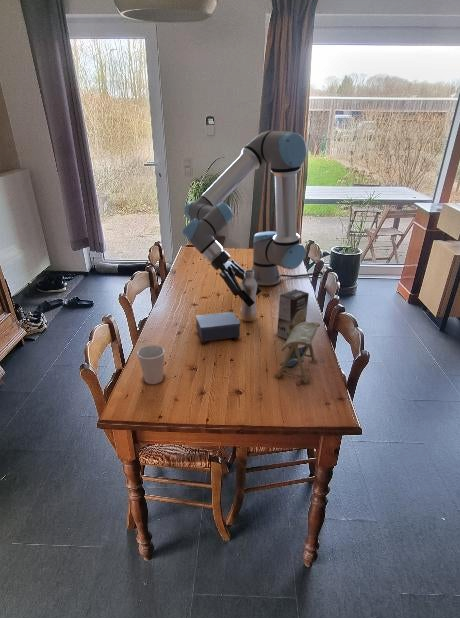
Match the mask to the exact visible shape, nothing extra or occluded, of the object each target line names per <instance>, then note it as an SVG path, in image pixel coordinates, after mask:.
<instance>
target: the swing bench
mask: <svg viewBox="0 0 460 618" xmlns="http://www.w3.org/2000/svg"><path fill="white" fill-rule="evenodd" d="M320 326H321V323H319V322H317V321H312V320H311V321H310V320H306V322H302V323H300V324H298V325H296V326H295V327H294V328H293V330H292V332H291V334H290V336H289V338H288V340H287V339H286V341H285V342H284V345H283V346H282V347H281V349H280V351H281V353H283V352H284V351H285V350H286V349H288V352H287V353H286V355H285V357H284V359H283V361H280V362H279V366H280V369H279V371H278V373H277V375H276V376H277V378H281V377H282V375H284V376H285V375H286V376H290V377H294V378H299V379H302V381H303V382H302V383H304V384H307V383H308V380H307V376H306V372H305V368H304V365H303V363H304V362H305V359H304V358H305V357H307V358H311V362H312V363H315V362H316V357H315V354H314V349H313V348H314V347H313V339H314V337H315V336H316V334H317V331H318V328H319V327H320ZM299 345H301V347H299ZM308 350H309V353H310V354H308ZM298 368H299V369H300V373H301V374H295V373H290V372H294V371H296V370H297V369H298ZM286 371H287V372H286Z"/></svg>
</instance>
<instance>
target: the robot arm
mask: <svg viewBox="0 0 460 618" xmlns="http://www.w3.org/2000/svg"><path fill="white" fill-rule="evenodd" d="M307 151H308V149H307V143H306V140H305V139H304V137H303V136H302V135H301V134H300V133H298V132H293V131H292V130H291V131H286V130H271V129H270V130H265V131H263V132H261V133H259V134H258V135H256V136H255V137H254V138H253V139H252V140H250V141H249V142H248V143H247V144H246V145H245V146H244V147H243V148H242V149H241V152H240V155H239V156H238V157H237V158H236V159H235V160H234V161H233V162H232V163H231V165H230V166H229V167H228V168H227V169H225V170H224V172H223V173H222V174H221V175H220V176H218V178H217V179H216V180H215V181H214V182H213V183H212V184H211V185H210V186H209V187H208V188H207V189H206V191H205V192H203V193H202V195H201V196H200V197H199V198H197V200H190V201H188V202H187V203H186V204H185V206H184V215H185V217H186V219H188V220H189V221H190V222H188V223H187V224H186V226H185V227H184V228H183V229H182V234H183V236H184V237H185V238H186V239H187V241H188V242H189V243H190V244H191V245H192V246H193V247H194V248H195V249H196V250H197V251H198V252H199V254H201V256H202V257H203V259H205V260H206V261H207V262H208V263H210V266H212V268H213V269H214V270H215V271H218V270H220V272H219V274H218V275H219V276H220V277H221V278H222V280H223V281H224V283H225V284H226V286H227V288H228V289H229V290H230V292H231V293H232V295H233V296H234V297H237V296H238V297H239V298H240V300H241V301H242V300H243V301H244V302H245V303H246V304H247V305H248V306H249V307H250V306H252V305H253V304H254V303H255V302H256V301H255V302H254V301H253V300H252V299H251V298H250V296H249V295H248V294H247V293H246V292H245V291H244V290H242V289H241V287H240V284H239V282H238V280H237V278H238V279H240V280H241V281H242V280H243V279H244V271H245V270H246V269H245V268H243V267H242V266H241V265H240V264H239V263H237V261H235V260H234V259H232V260H230V259H231V255H230V254H229V252H228V251H226V249H225V250H224V247H223V246H222V245H221V243H220V242H218V241H217V239H215V236H217V234H218V233H219V232H220V231H221V230H223V229H224V228H225V227H226V226H227V225H228V224H229V222H230V221H231V220H232V219H233V217H234V213H233V210H232V208H231V207H230V206H229V205H228V204H227V203H226V202H224V201H226V199H227V198H228V197H229V196H230V195H231V194H232V193H233V192H234V191H235V190H236V189H237V187H239V186H240V185H241V184H242V183H243V181H244V180H245V179H246V178H247V177H248V176H249V175H250V174H251V173H252V172H254V171H255V170H259V168H261V167H262V166H263V165H265V164H270V173H272V174H273V175H274V196H275V197H274V199H275V230H269V231H261V232H257V233H255V234H254V235H253V242H252V243H253V244H252V249H253V250H252V266H251V269H250V270H253V271H254V279H255V280H256V282H257V291H256V297H257V296H258V295H259V294H260V293H262V289H261V288H260V287H272V286H276V285H278V284H280V283H281V277H286V278H287V277H288V278H298V277H308V276H314V275H317V274H321V275H323V274H322V272H323V271H321V270H318V271H315V272H313V273H304V274H281V273H280V269H279V267H281V268H283V269H284V270H285V269H287V270H295V269H298V267H299V266H300V265H301V264H302V262H303V261H304V260H305V256H306V248H305V246H304V245H303V244H301V235H299V234H298V232H297V174H298V173H299V172H300V170H301V166H302V165H303V164H304V162H305V159H306V158H307V154H308V153H307ZM236 277H237V278H236ZM259 286H260V287H259Z"/></svg>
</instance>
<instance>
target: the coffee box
mask: <svg viewBox="0 0 460 618" xmlns="http://www.w3.org/2000/svg"><path fill="white" fill-rule="evenodd" d="M309 296H310V293H309V292H306V291H303V290H300V289H296V288H295V289H292V290H290V291H287V292H284V293H281V294H279V302H278V303H279V304H278V315H277V328H276V329H277V330H276V336H278V337H281V338H282V339H285V340H286V341H287V340H288V338H289V336H290V334H291V332H292V330H293V328H294V327H295V326H296V325H298V324H300V323H302V322H306V321H307V313H308V305H309Z"/></svg>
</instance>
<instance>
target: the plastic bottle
mask: <svg viewBox="0 0 460 618" xmlns="http://www.w3.org/2000/svg"><path fill="white" fill-rule="evenodd" d="M244 270H245V271H244V279H243V280H241V281H240V284H239V285H240V287H241V289H242V290H244V291H245V292H246V293H247V294H248V295H249V296H250V298H251V299H252V300H253V301H254V302H255V303H254V304H253V305H252V306H250V307H249V306H248V305H247V304H246V303H245V302H244V301H243V300H242V299H241V303H240V304H241V305H240V310H239V316H240V319H241V320H242V321H244V322H253V321H255V320H256V319H257V315H258V312H257V303H256V299H257V298H256V297H257V296H256V291H257V287H258V285H257V282H256V280H255V279H254V271H253V270H251V269H244Z"/></svg>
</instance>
